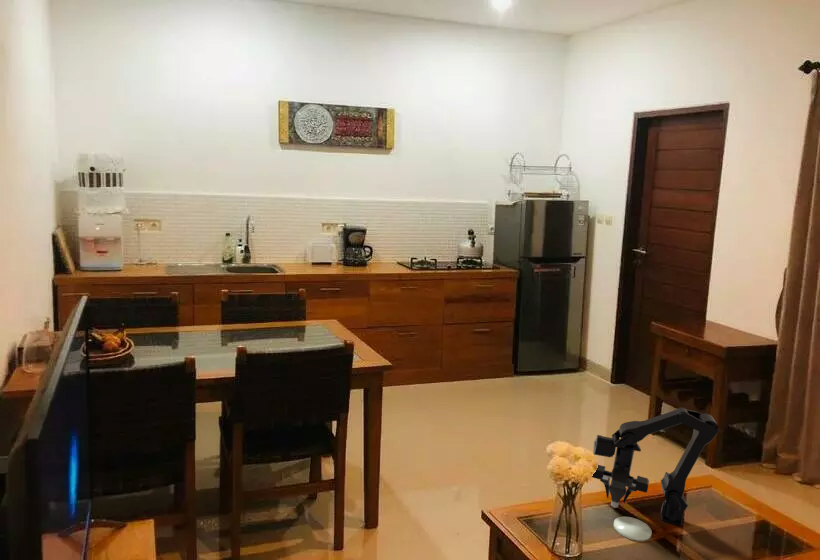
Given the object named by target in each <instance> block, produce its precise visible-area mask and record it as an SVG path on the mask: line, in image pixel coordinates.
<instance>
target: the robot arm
mask: <svg viewBox="0 0 820 560" xmlns="http://www.w3.org/2000/svg"><path fill="white" fill-rule="evenodd" d="M717 423H718V422H717V421H716V419H714V417H713V416H712V414H709V413H701V412H699V411H696V410H690V409H687V408H685V407H678V408H676V409H674V410H672V411H669V412H666V413H663V414H659V415H657V416H654V417H651V418H648V419H646V420H640V421H639V420H633V421H632V420H631V421H625V422H623V423H621V424H620V426H619V428H618V429H617V430H616V431H615V432H614V433H613V434H611V437H608V436H603V435H600V434H597V435H596V438H595V440H594V441H593V442H594V443H593V450H592V452H593V455H594V456H601V457H605V458H613V457H614V460H613V467H612V469H611V471H609V470H606V466H605V465H601V464H598V468H597V470H596V472H595V473H594V474H593V476H592V479H593V478H594V479H597V480H600V482H601V483H603V485H604V488H605V495H606V498H607V499H608V498H610V497H609V496H610V491H609V487H610V484H611V486H612V487H617V488H620V489H623V490H624V489H625V488H626V493H625V495H624V496H623V501H622V503H623V504H624V503H625V502H626V500H628V498H629V496H630V495H631V494H632V493H634V492H637V491H639V492H643V493H648V489H649V483H650V480H649V479H648V477H644V476H640V475H637V476H636V477H634V476H632V475H631V470H632V465H633V460H634V454H635V452H638V453H639V452H641V451H642V449H641V446H640V445H639V444H638V443H639V442H640V441H643V440H644V439H645V438H646V437H647V436H649V435H652V434H654V433H657V432H661V431H663V430H665V429H666V430H667V429H669V428H671V427H672V428H673V427H675V426H678V425H681V424H684V425H686V426H688V427H689V428H691V429H693V431H692V436H691V438H690V440H689V442H688V444H687V446H686V448H685V450H684V451H683V453H682V455H681V456H680V459H679V461H678V462H677V465H675V468H674V470H673V471H671V472H670V473H669V472H668V471H665V472H664V476H663V477H662V479H660V483H661V485H660V486H661V489H662V493H663V495H664V496H663V497H664V498H665V499H664V500H665V501H663V502H662V505H661V510H660V516H661V520H662V522H663V521H664V522H667V523H670V524H674V525H677V526H683V518H684V514H685V510H687V508H688V506H689V505H688V503H687V501H686V498H685V496H684V492H685V487H686V483H687V482H686V481H687V479H688V477H689V475H690V473H691V471H692V470H693V468H694V466H695V464H696V462H697V460H698V459H699V456H700V455H701V453H702V451H703V450H704V448H705V446H706V445H707V444H709V443H710V442H713V440H714V438H715V437H716V436H717V435H718V433H719V430H720V428H719V426H718V424H717Z"/></svg>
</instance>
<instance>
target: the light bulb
mask: <svg viewBox="0 0 820 560" xmlns="http://www.w3.org/2000/svg"><path fill="white" fill-rule="evenodd" d="M626 490H627V487H626V488H625V489H624V490H623V489H620V488H617V487H612V486H611V483H610V487H609V495H610V498H611V502H610V506H611V507H612V508H613V509H616V508H619V505H620V501H621V500H622V499H623V498H624V496H625V493H626Z"/></svg>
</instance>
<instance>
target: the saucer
mask: <svg viewBox="0 0 820 560" xmlns="http://www.w3.org/2000/svg"><path fill="white" fill-rule="evenodd" d="M613 529H614V530H615V531H616V532H617V533H618V534H619V535H620V536H623V537H624V538H626V539H629V540H632V541H636V542H645V541H649V540H650V539H651V537H652V533H653V532H652V529H651V528H650V526H649V525H648V524H647V523H645V522H643V521H642V520H640V519H637V518H635V517H631V516H619V517H617V518H615V519H614V521H613Z"/></svg>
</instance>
